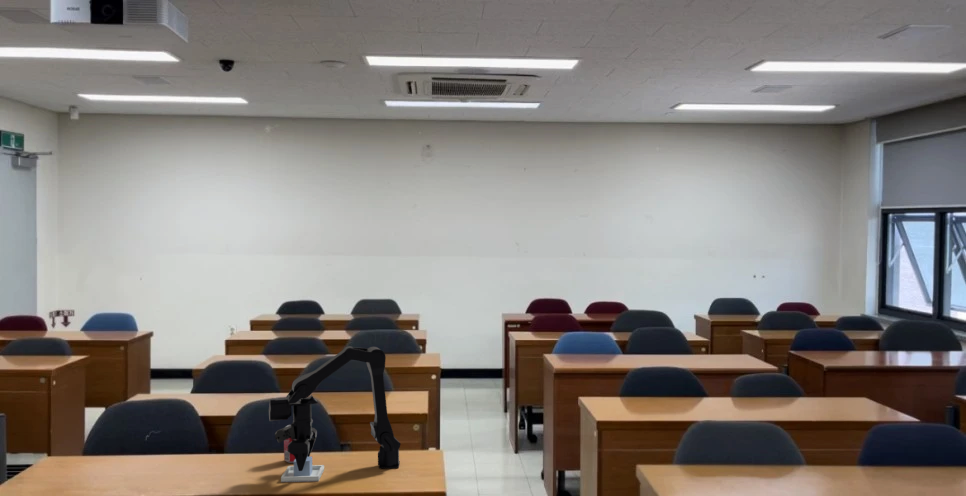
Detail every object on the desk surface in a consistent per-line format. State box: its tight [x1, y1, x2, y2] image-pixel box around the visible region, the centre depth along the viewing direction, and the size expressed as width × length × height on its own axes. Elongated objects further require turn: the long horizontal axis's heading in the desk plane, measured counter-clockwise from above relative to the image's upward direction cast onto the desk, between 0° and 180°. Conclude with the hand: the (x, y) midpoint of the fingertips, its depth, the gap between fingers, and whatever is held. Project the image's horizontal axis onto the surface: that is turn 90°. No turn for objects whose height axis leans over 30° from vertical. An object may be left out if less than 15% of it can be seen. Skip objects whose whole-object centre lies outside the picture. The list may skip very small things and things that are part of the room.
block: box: [293, 455, 313, 476], centre depth 243 cm, size 5×5×5 cm
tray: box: [280, 464, 325, 483], centre depth 243 cm, size 12×12×2 cm
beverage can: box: [283, 424, 296, 464], centre depth 259 cm, size 6×6×12 cm
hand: (303, 466), depth 243 cm, fingers open, 9 cm apart
